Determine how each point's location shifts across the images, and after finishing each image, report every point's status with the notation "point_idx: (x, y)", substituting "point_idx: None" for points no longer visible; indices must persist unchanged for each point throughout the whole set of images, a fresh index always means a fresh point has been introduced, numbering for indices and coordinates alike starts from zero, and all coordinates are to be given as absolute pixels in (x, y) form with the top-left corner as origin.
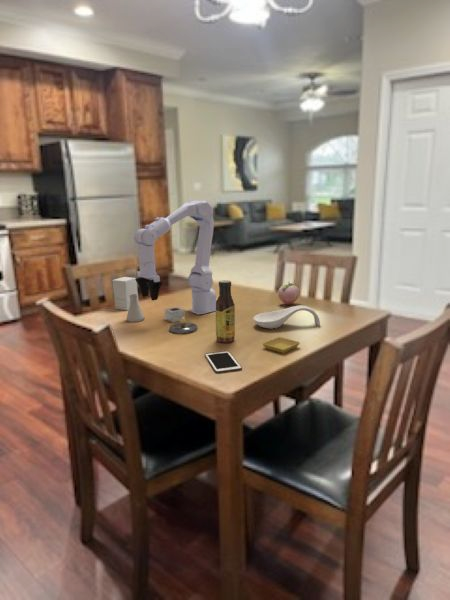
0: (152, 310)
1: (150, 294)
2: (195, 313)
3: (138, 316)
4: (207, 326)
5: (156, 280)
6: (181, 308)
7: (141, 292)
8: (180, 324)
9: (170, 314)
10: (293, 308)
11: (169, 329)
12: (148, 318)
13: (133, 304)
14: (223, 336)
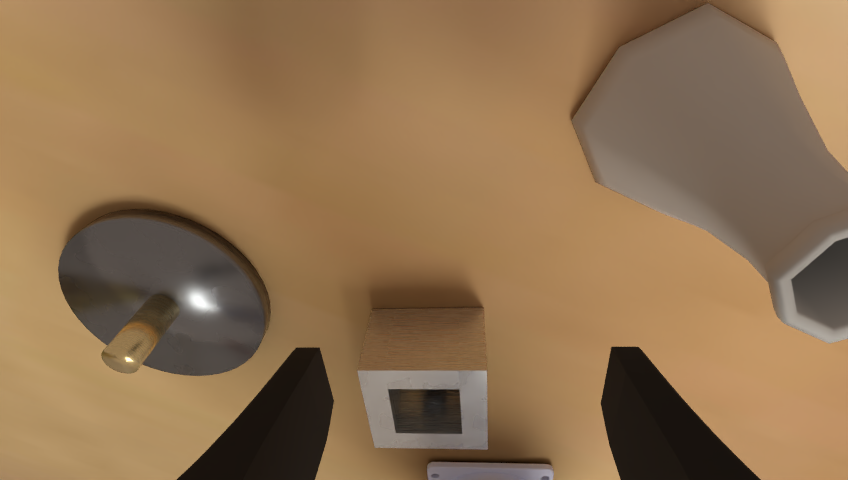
0: (793, 335)
1: (272, 413)
2: (461, 462)
3: (602, 141)
4: (188, 402)
5: None
6: (420, 447)
7: (662, 392)
8: (228, 316)
9: (385, 351)
10: None
11: (166, 220)
12: (608, 226)
13: (727, 172)
14: None
